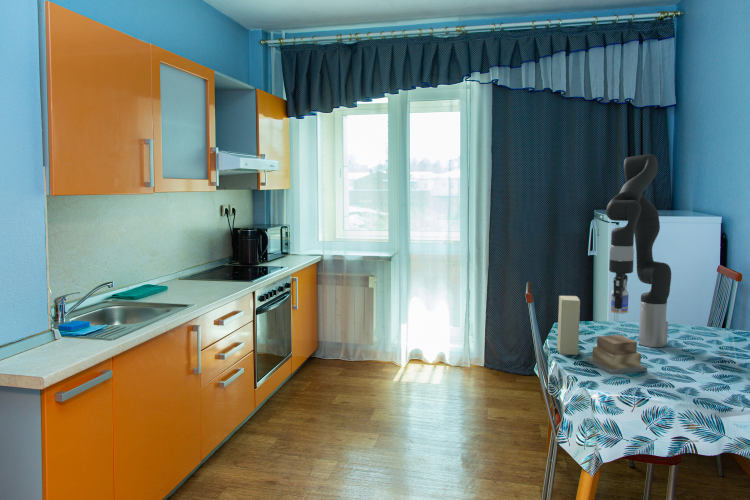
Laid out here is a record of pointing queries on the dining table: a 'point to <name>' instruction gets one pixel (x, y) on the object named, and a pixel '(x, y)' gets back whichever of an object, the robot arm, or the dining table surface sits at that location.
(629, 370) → the base plate
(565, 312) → the tall beige block
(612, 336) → the brown block
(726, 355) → the dining table surface
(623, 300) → the pill bottle
